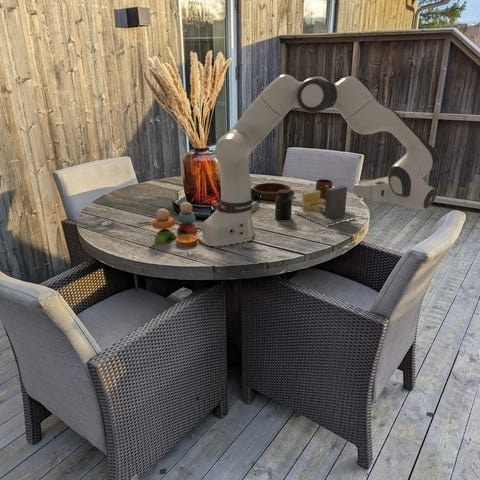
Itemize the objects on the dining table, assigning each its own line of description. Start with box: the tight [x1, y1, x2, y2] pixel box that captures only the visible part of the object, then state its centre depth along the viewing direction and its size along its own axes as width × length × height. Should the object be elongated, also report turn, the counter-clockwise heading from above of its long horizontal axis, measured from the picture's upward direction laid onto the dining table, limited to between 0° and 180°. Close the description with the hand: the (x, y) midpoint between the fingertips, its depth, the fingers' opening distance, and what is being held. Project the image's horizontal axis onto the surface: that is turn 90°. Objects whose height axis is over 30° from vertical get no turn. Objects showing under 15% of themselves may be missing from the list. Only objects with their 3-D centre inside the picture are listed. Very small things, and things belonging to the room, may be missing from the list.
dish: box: [252, 182, 295, 201], centre depth 214 cm, size 18×22×5 cm
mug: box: [315, 178, 333, 200], centre depth 205 cm, size 12×8×9 cm, turn 2°
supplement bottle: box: [274, 190, 293, 221], centre depth 184 cm, size 7×7×12 cm
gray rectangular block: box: [321, 185, 348, 219], centre depth 182 cm, size 9×6×12 cm
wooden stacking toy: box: [152, 201, 199, 247], centre depth 165 cm, size 18×17×12 cm
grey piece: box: [294, 190, 356, 225], centre depth 186 cm, size 16×20×8 cm
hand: (360, 182), depth 167 cm, fingers closed
